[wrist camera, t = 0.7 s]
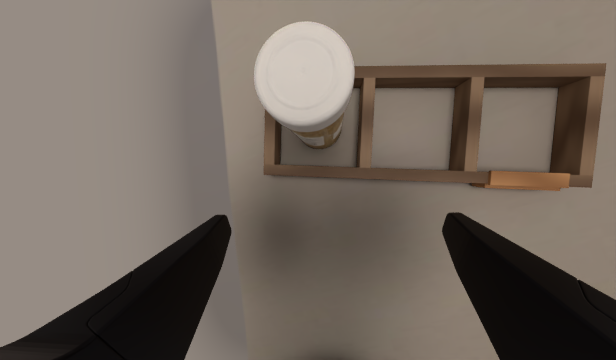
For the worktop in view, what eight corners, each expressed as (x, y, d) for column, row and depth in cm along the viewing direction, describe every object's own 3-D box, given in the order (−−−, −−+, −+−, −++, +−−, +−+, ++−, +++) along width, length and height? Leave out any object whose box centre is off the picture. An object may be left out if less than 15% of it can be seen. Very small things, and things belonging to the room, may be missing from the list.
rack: (559, 189, 21) (595, 192, 18) (270, 177, 24) (262, 178, 21) (572, 76, 20) (611, 61, 17) (272, 78, 23) (264, 65, 20)
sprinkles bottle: (350, 129, 22) (379, 75, 9) (316, 158, 23) (295, 147, 10) (321, 95, 22) (308, -8, 9) (288, 125, 23) (229, 68, 10)
